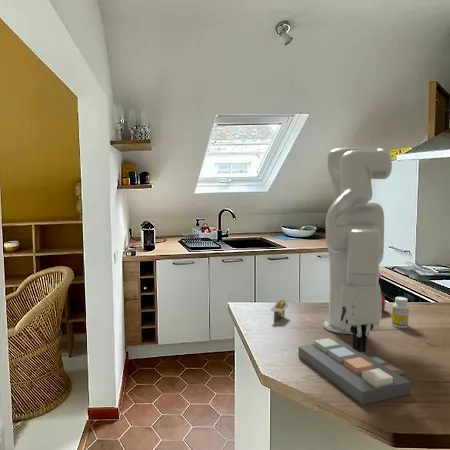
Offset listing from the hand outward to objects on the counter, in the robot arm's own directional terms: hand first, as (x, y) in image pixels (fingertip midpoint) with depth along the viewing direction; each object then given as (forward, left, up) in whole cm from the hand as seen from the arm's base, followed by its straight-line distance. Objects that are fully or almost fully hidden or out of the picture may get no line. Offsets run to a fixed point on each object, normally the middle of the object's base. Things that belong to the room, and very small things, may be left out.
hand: (359, 350), depth 111 cm
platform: (-4, -49, -9) cm, 49 cm away
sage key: (0, -14, -6) cm, 16 cm away
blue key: (0, -7, -6) cm, 10 cm away
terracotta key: (0, 0, -6) cm, 6 cm away
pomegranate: (-41, -45, -8) cm, 62 cm away
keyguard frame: (0, -4, -8) cm, 9 cm away
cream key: (0, +7, -6) cm, 9 cm away
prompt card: (-11, -4, -8) cm, 14 cm away
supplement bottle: (-39, -28, -8) cm, 49 cm away
